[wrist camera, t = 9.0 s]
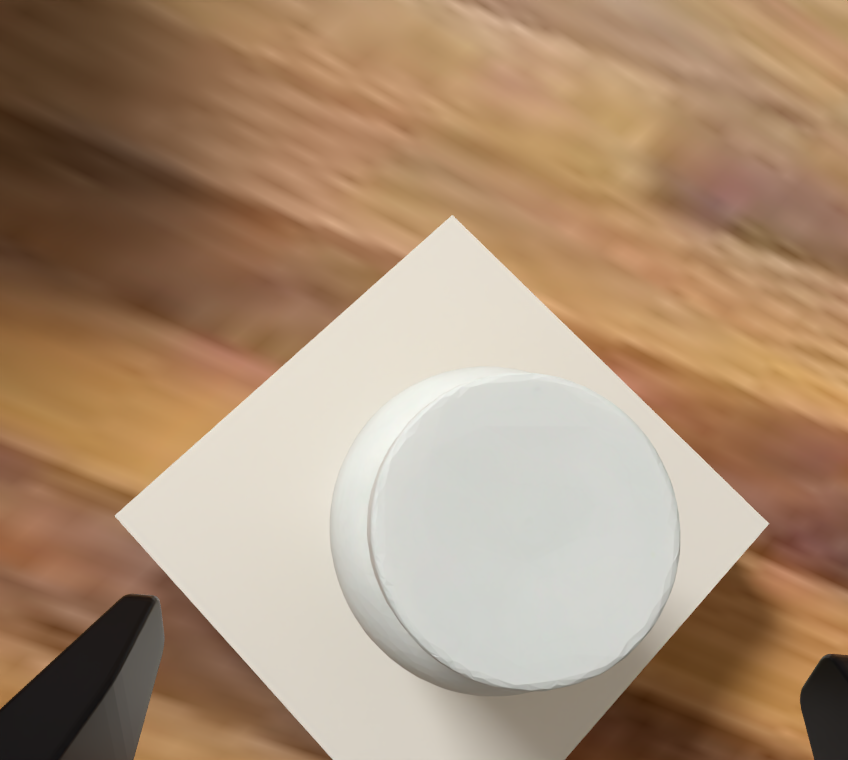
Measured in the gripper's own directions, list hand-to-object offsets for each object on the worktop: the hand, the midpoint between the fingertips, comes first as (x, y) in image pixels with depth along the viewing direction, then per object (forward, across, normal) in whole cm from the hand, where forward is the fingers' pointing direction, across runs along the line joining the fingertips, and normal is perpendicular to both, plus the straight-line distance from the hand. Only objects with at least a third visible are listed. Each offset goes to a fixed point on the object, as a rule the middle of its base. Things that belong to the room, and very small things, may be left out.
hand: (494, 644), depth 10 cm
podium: (+10, 0, +7) cm, 12 cm away
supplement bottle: (+7, 0, +5) cm, 9 cm away
